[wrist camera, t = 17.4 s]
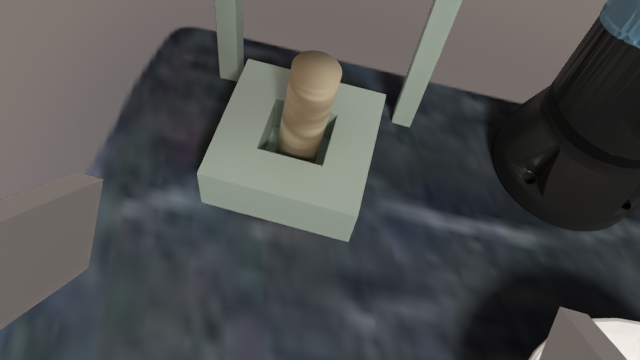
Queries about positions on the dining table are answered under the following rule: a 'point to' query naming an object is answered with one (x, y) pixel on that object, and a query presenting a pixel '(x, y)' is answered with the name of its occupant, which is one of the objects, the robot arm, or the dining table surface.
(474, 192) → the dining table surface
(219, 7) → the socket
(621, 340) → the bowl
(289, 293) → the dining table surface
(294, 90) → the dowel
